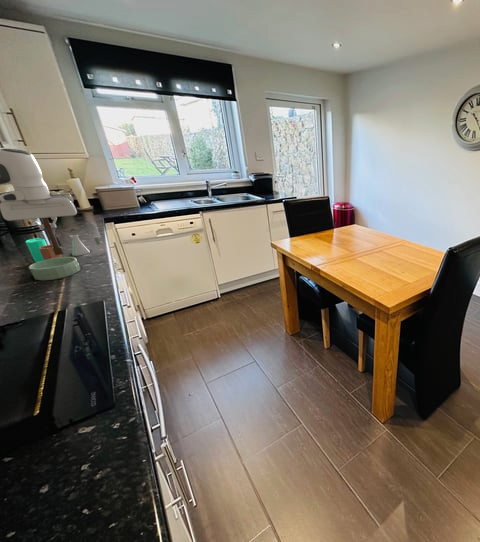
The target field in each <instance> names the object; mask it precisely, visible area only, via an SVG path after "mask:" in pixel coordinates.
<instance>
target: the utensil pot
mask: <svg viewBox="0 0 480 542" xmlns="http://www.w3.org/2000/svg"><path fill="white" fill-rule="evenodd" d="M52 248H53V245H52V244H47V245H46V246H42V247H39V249H40V252H41V254H42V256H43V258H44V260H47V259H52V258H58V257H63V254H61V255H55V253H54V251H53V249H52Z"/></svg>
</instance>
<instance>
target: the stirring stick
mask: <svg viewBox="0 0 480 542" xmlns="http://www.w3.org/2000/svg"><path fill="white" fill-rule="evenodd" d="M40 220H41V222H42V224H44V227H45V229H44V230H45V231H46V233H47V236H48V238H49V241H50V243H51V245H53V248H52V249H53V251H54V253H55V255H61V254H62V255H64V254H65V253H64V251H63V247H62V246H60V244H59V242H58V240H57V237H56V235H55V232H54V229H53V228H51V226H50V221H49V217H47V218H40Z"/></svg>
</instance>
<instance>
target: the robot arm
mask: <svg viewBox="0 0 480 542" xmlns="http://www.w3.org/2000/svg"><path fill="white" fill-rule="evenodd" d="M8 185H11V186H12V187H13V190H10V191H8V192H4V193H2V194H0V201H1V203H0V212H1V215H2V218H3V219H4V220H6V221H11V222H12V221H22V220H31V222H32V223H34V224H35V225H37V227H38V228H39V230H46V229H45V227H44V224H43V223H41V222H39V221H38V220H39V219H41V218H50V219H51V220H52V222H51V223H50V222H49V223H50V226H51V228H52V229H56V228H57V224H56V223H57V220H58V217H59V218H60V217H70V216H76V215H77V214H78V210H77V208H76V205H75V204H74V197H73V195H71V194H70V193H66V192H50V190H49V187H48V185H47V183H46V182H45V181H44V178H43V173H42V169H41V168H40V165H39V163H38V161H37V160H36V158H35V157H34V155H33V154H32V153H30V152H29V151H26V150H22V149H16V148H0V186H8Z"/></svg>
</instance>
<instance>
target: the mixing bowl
mask: <svg viewBox="0 0 480 542" xmlns="http://www.w3.org/2000/svg"><path fill="white" fill-rule="evenodd" d="M28 270H29V271H30V273H31V275H32V278H33V279H34V280H36V281H54V280H60V279H65V278H68V277H71V276H73V275H74V274H77V273H78V272H80V271H81V265H80V264H79V261H78V259H77V257H74V256H62V257H58V258H52V259H47V260H43V261H39V262H34V263H32V264H30V265H29V266H28Z"/></svg>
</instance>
